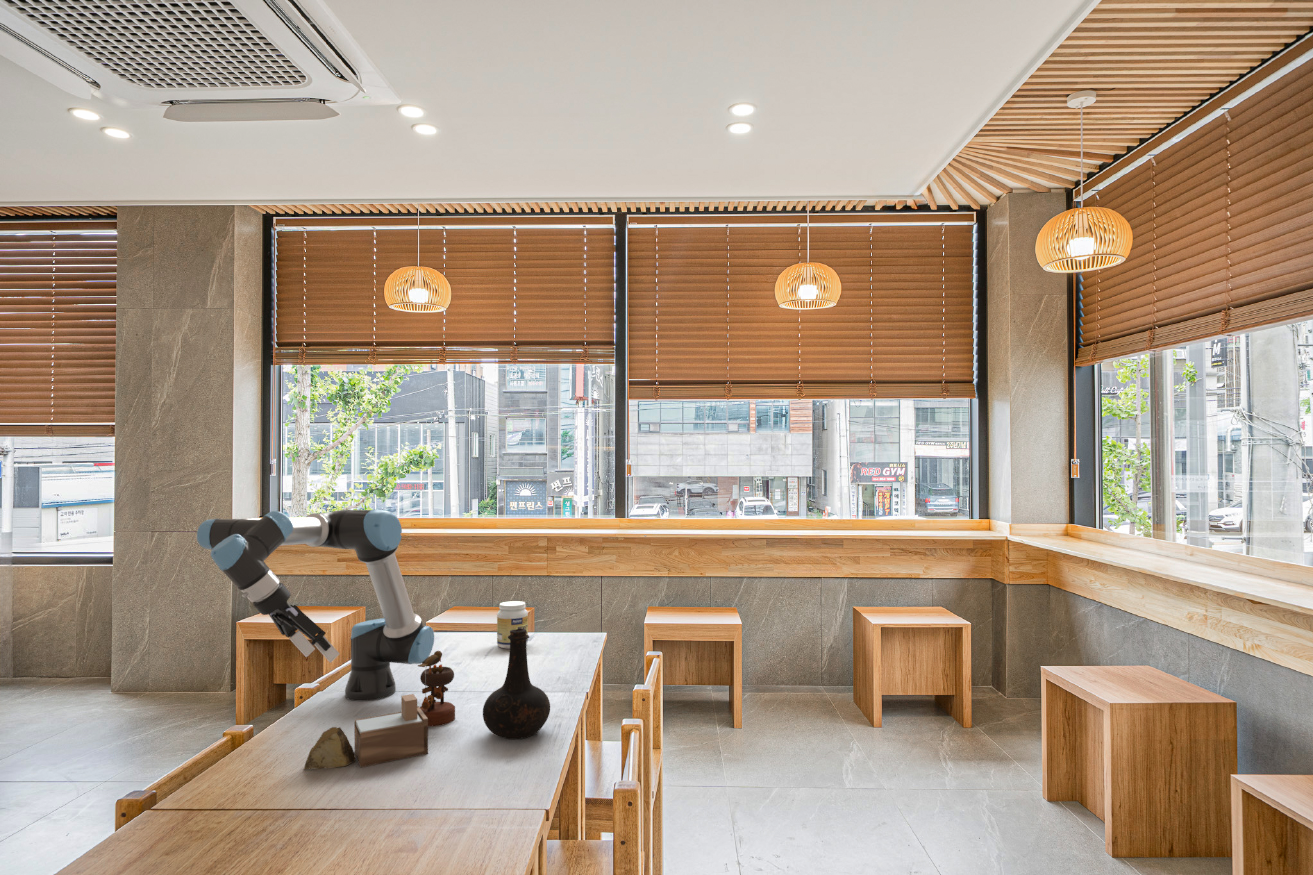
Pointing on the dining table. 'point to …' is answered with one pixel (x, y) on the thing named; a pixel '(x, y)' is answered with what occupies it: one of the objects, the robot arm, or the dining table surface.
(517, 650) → the glass bottle
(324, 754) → the rock
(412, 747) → the box
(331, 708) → the dining table surface
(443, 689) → the wooden bird figurine
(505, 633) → the supplement tub
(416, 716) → the lid
